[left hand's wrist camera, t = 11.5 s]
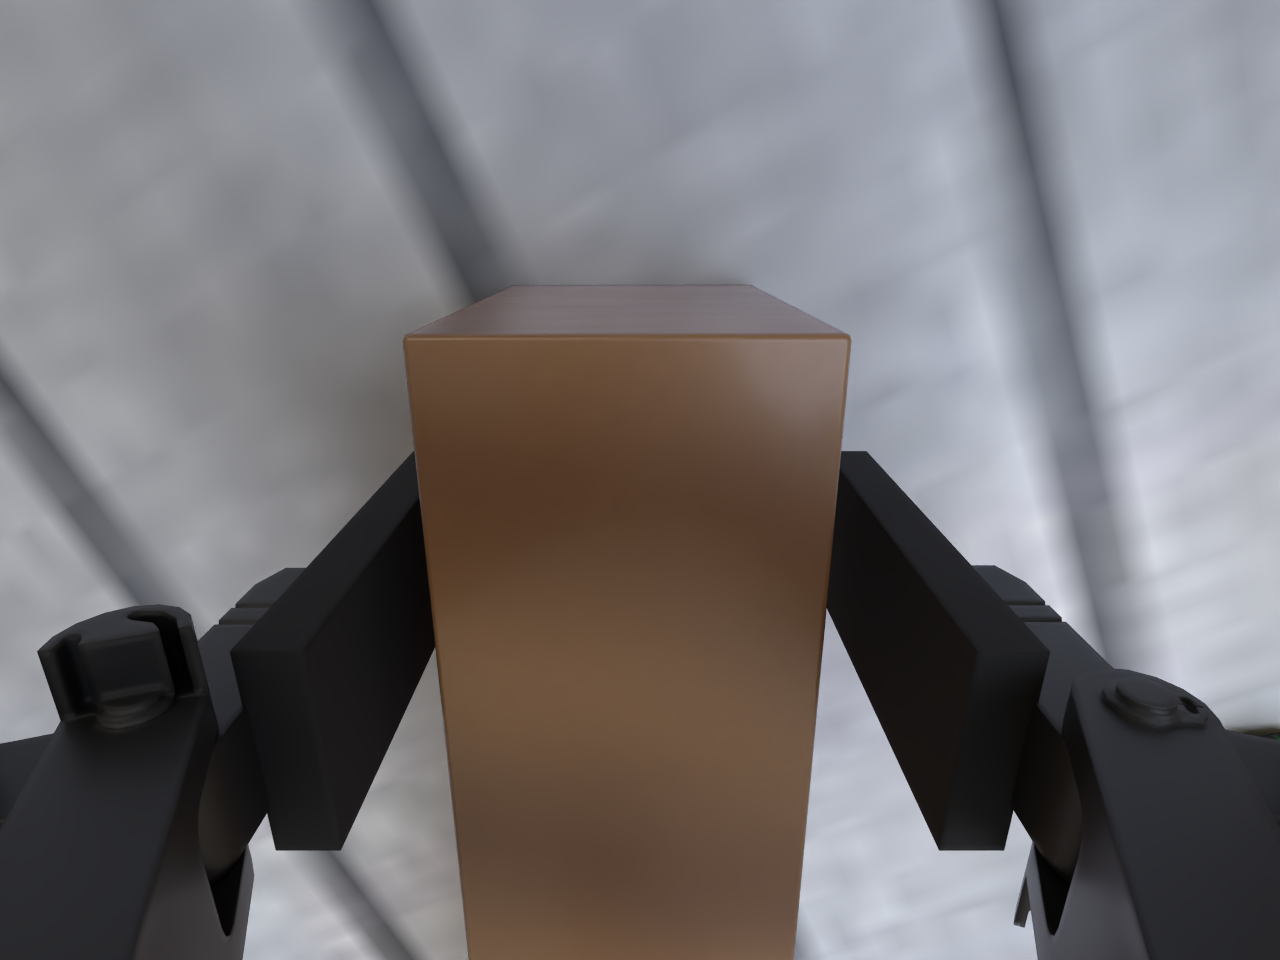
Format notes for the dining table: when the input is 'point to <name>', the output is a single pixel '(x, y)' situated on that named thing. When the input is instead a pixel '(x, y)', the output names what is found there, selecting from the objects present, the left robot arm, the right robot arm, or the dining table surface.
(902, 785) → the dining table surface
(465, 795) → the bar
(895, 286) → the dining table surface
